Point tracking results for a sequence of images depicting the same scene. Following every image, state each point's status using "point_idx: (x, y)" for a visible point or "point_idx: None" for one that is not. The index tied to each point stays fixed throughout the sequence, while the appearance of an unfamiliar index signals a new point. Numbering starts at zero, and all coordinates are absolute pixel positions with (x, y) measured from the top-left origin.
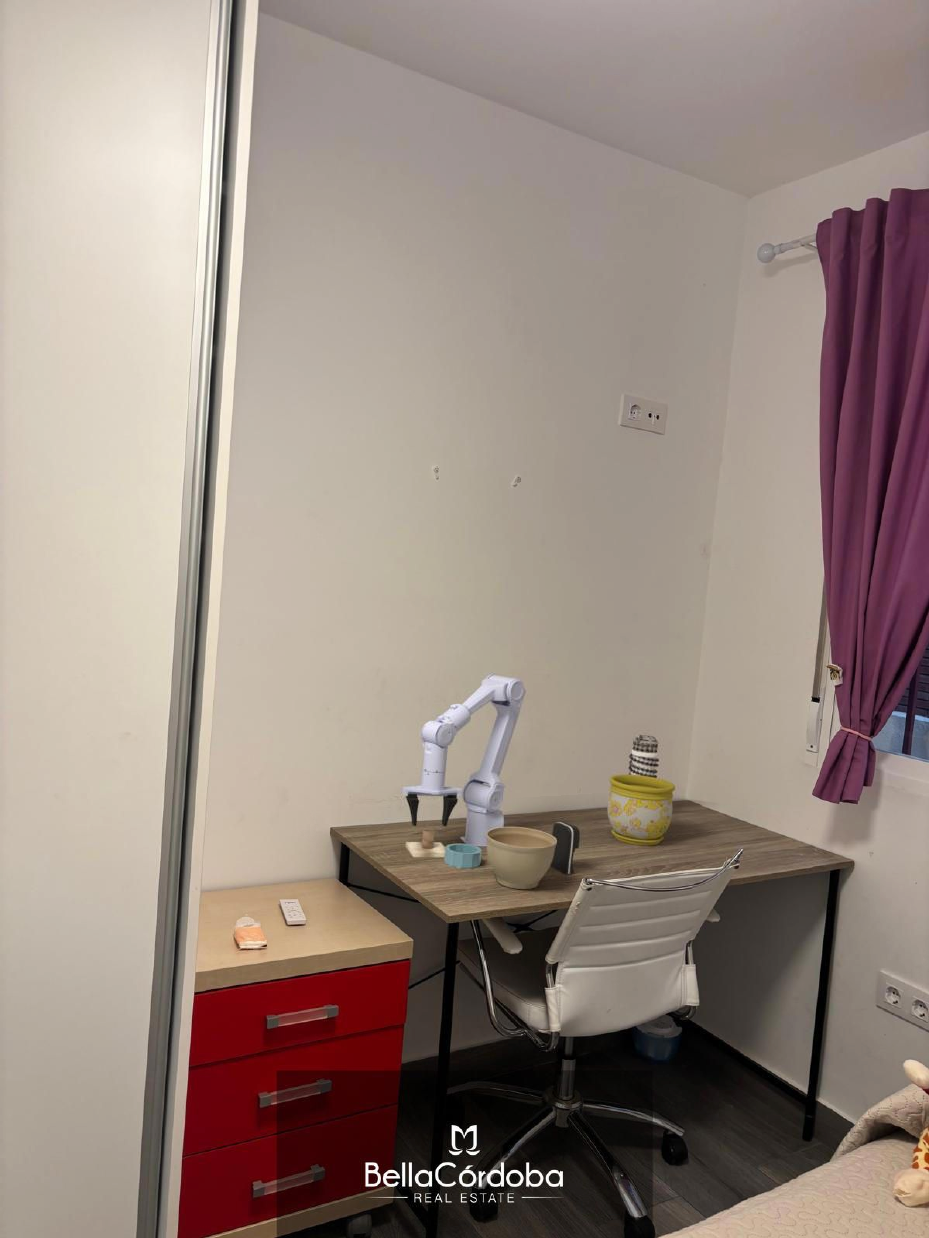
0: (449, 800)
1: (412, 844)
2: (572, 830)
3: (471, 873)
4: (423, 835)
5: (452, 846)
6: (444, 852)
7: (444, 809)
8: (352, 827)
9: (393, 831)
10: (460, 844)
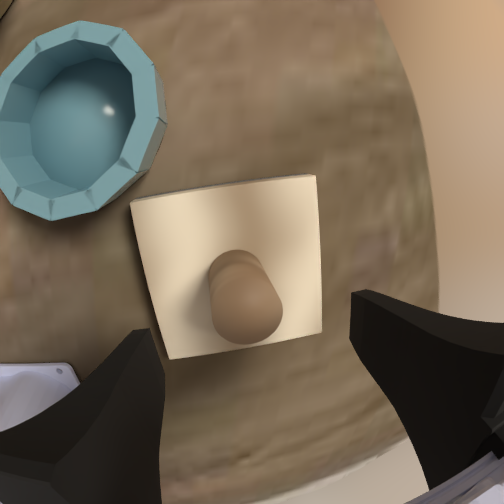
0: (46, 470)
1: (299, 306)
2: None
3: None
4: (275, 290)
5: (110, 168)
6: (155, 205)
7: (145, 446)
8: (399, 436)
9: (310, 450)
10: (64, 200)
